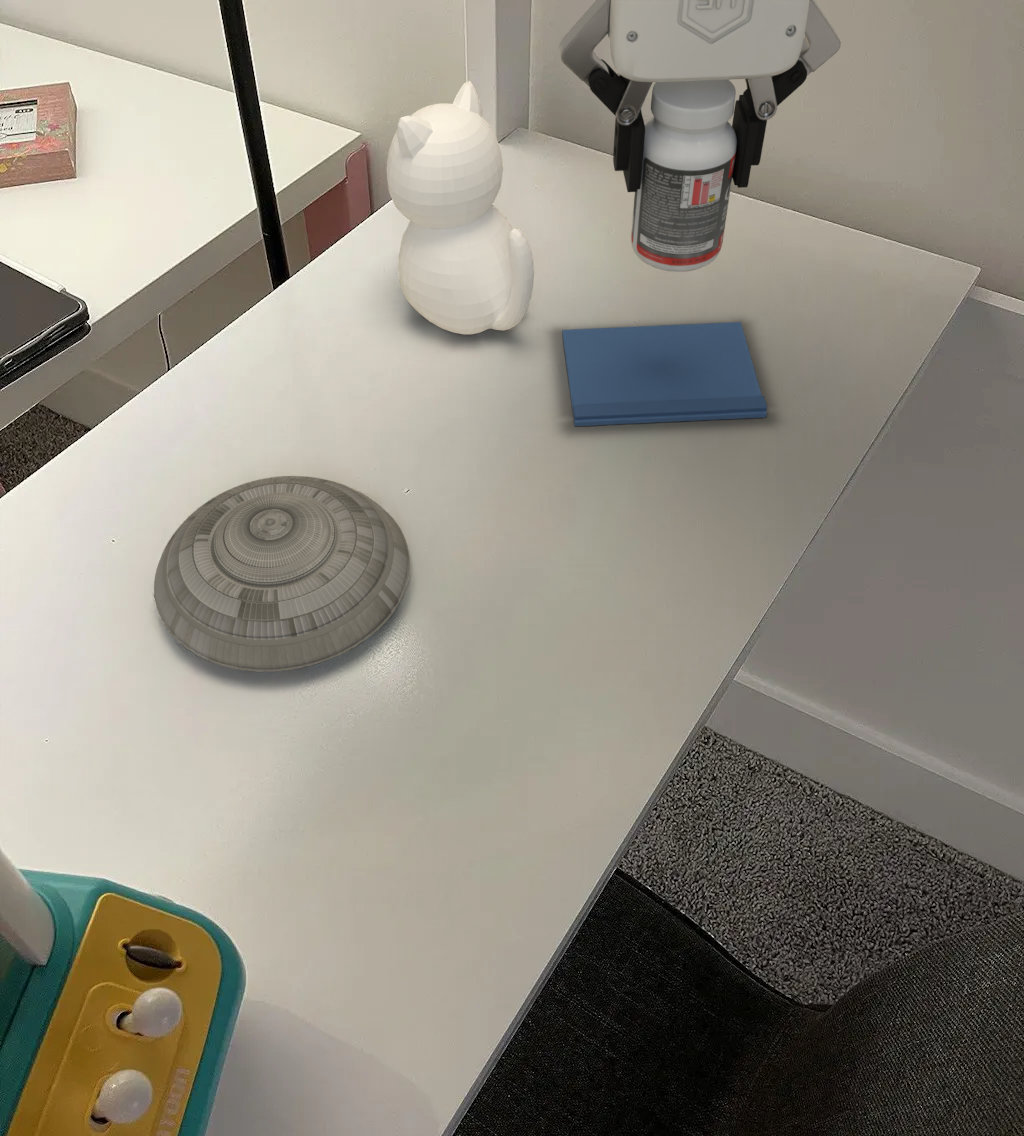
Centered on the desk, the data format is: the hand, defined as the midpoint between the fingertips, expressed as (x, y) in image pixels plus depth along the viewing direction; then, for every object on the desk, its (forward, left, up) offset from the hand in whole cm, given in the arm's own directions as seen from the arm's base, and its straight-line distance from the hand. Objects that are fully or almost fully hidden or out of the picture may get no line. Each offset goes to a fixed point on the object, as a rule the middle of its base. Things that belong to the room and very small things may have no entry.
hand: (684, 174), depth 67 cm
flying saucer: (+25, +18, -15) cm, 34 cm away
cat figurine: (+13, -8, -15) cm, 21 cm away
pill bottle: (0, 0, -5) cm, 5 cm away
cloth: (0, 0, -15) cm, 15 cm away
